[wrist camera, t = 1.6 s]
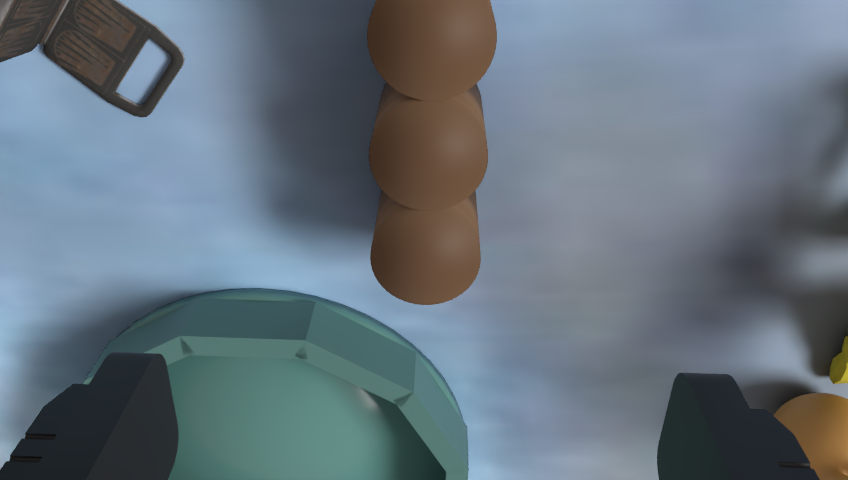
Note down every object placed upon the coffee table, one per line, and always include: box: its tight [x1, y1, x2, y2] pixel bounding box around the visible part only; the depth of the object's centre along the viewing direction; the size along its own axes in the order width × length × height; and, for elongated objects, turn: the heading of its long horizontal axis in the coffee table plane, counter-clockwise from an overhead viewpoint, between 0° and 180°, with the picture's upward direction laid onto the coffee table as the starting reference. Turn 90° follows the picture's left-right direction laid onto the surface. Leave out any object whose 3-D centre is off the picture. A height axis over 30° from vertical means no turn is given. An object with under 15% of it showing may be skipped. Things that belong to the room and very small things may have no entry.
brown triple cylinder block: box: [367, 0, 497, 305], centre depth 22 cm, size 10×3×4 cm, turn 179°
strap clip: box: [0, 0, 185, 117], centre depth 20 cm, size 8×3×4 cm, turn 51°
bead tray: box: [83, 289, 468, 480], centre depth 30 cm, size 16×16×3 cm
